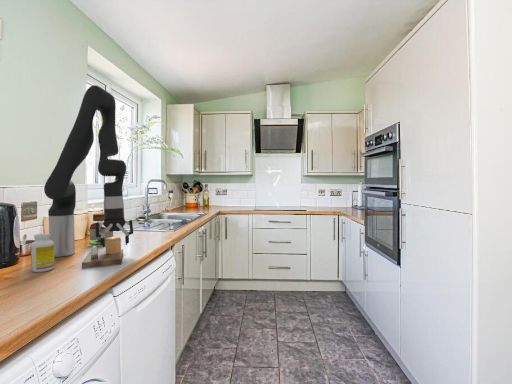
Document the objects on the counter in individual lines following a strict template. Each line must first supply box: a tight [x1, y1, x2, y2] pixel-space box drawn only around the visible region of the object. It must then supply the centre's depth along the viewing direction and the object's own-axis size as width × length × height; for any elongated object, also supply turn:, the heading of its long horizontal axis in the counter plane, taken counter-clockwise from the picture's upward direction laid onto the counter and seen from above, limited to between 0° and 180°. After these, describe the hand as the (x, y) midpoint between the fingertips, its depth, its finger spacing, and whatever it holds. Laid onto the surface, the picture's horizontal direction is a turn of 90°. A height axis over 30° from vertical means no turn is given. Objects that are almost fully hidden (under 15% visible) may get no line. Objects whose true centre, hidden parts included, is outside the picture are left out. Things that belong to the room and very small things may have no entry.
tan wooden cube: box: [105, 236, 122, 254], centre depth 124 cm, size 6×6×6 cm
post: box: [90, 245, 99, 259], centre depth 113 cm, size 2×2×5 cm
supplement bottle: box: [30, 232, 56, 273], centre depth 106 cm, size 7×7×13 cm
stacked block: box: [87, 212, 114, 245], centre depth 154 cm, size 12×13×15 cm
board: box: [81, 248, 124, 269], centre depth 118 cm, size 13×18×2 cm
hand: (115, 245), depth 124 cm, fingers open, 8 cm apart
